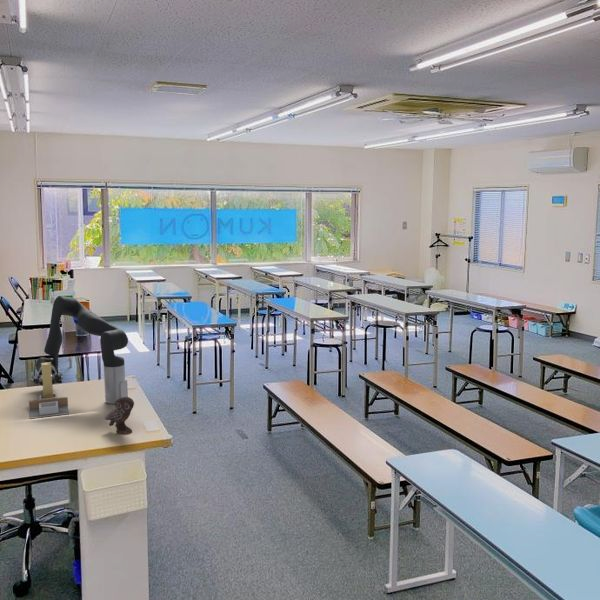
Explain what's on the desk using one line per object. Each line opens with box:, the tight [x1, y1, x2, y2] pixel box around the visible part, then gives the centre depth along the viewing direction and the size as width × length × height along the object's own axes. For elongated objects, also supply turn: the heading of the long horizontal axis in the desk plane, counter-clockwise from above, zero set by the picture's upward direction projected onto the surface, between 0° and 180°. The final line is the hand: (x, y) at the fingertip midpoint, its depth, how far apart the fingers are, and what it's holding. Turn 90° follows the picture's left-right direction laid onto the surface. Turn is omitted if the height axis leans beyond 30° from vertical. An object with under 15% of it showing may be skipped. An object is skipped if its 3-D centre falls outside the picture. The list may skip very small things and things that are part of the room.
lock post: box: [41, 362, 54, 399], centre depth 286 cm, size 4×4×18 cm
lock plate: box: [28, 392, 70, 420], centre depth 281 cm, size 24×16×4 cm, turn 22°
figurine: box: [104, 396, 135, 435], centre depth 251 cm, size 13×6×15 cm, turn 65°
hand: (47, 382), depth 283 cm, fingers closed on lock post, 4 cm apart
